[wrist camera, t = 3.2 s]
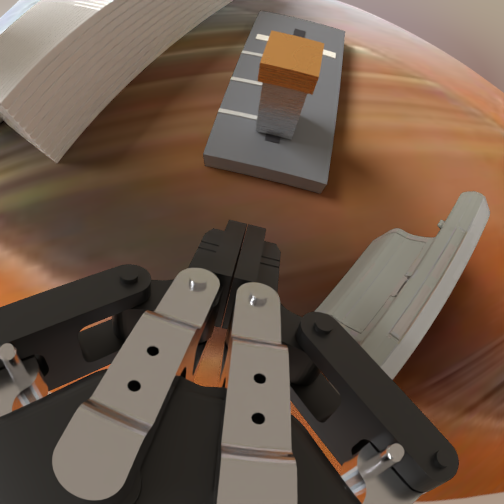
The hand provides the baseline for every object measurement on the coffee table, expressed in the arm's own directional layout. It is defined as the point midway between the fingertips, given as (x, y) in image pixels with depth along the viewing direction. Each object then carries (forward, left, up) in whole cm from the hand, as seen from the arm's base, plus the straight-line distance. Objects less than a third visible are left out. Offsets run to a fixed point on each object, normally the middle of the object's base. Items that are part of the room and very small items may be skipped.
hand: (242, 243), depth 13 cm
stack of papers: (-19, +23, -12) cm, 32 cm away
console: (0, +19, -12) cm, 22 cm away
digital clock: (+12, 0, -12) cm, 17 cm away
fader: (0, +13, -9) cm, 16 cm away
